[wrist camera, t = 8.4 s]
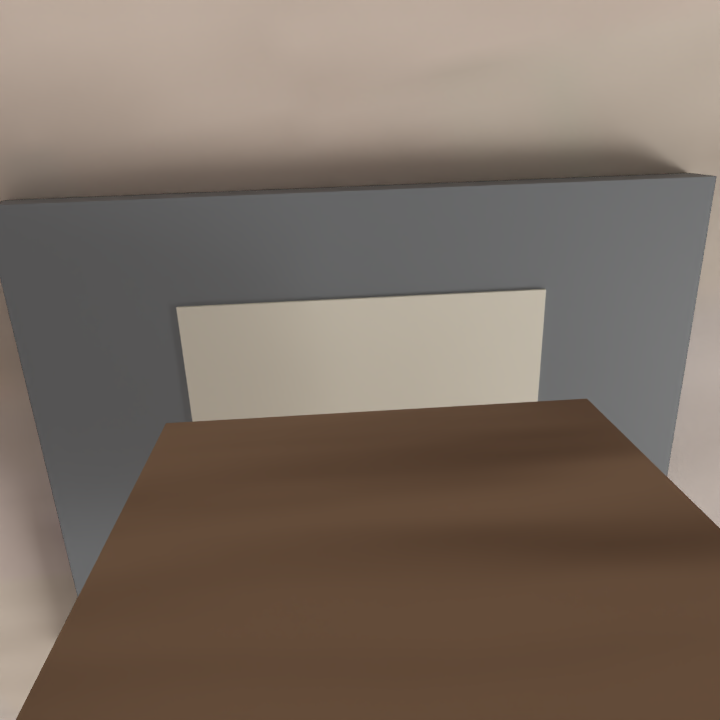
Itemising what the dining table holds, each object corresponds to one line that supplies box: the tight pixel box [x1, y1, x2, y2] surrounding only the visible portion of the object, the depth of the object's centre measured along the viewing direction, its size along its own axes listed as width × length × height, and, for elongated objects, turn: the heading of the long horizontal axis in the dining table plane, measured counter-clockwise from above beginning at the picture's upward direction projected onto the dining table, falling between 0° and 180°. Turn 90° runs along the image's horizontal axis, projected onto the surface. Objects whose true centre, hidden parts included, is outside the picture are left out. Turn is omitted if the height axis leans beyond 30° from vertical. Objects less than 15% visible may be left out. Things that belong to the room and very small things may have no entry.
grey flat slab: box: [0, 173, 716, 596], centre depth 18 cm, size 15×18×1 cm
